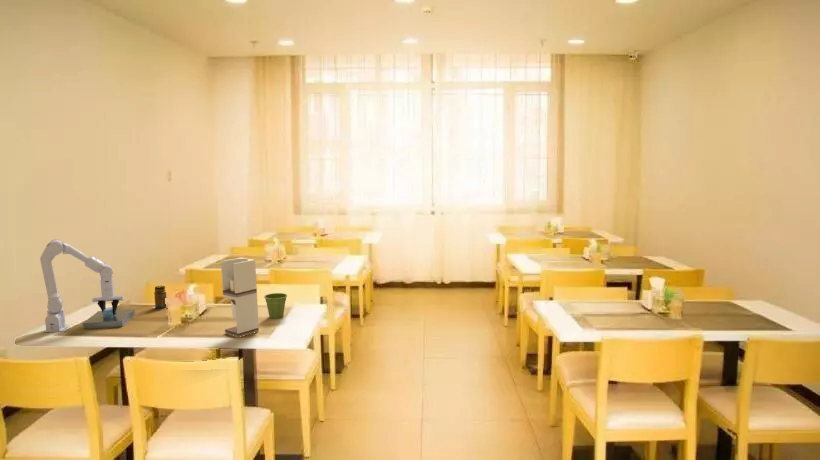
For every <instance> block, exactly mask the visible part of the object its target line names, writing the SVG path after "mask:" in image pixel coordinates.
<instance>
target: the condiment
mask: <svg viewBox="0 0 820 460" xmlns="http://www.w3.org/2000/svg"><path fill="white" fill-rule="evenodd" d="M153 293H154V306H152V308H153V309H154V310H156V311H161V310H167V309H166V304H165V298H167V291H166V286H165V285H156V286H155V287H154V292H153Z"/></svg>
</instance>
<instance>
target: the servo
mask: <svg viewBox="0 0 820 460" xmlns="http://www.w3.org/2000/svg"><path fill="white" fill-rule="evenodd" d="M102 315H103V317H104V318H113V317H114V316H115V315H116V314H115V315H113V308H112V306H111V307H106V309H105V310H104V311H103V313H102Z"/></svg>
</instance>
